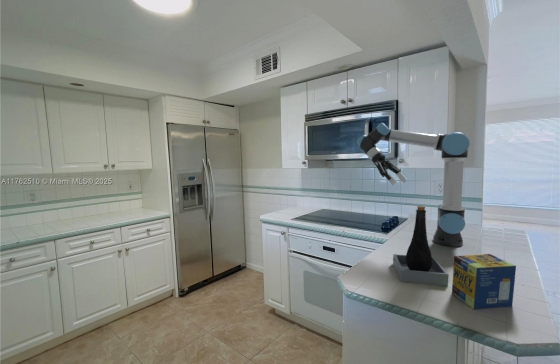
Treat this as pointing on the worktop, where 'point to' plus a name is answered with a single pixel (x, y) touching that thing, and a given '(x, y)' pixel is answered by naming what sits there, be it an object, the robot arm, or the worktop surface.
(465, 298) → the protein box
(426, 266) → the bottle
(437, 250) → the worktop surface
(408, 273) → the tray
